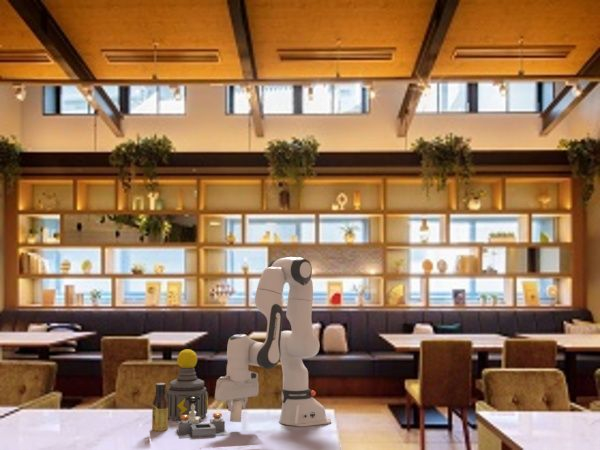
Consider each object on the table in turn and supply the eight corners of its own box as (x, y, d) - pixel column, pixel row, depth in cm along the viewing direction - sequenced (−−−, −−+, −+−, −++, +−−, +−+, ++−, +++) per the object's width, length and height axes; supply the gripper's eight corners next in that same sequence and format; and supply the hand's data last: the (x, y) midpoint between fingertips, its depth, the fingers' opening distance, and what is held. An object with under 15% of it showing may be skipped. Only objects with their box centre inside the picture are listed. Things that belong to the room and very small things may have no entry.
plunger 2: (221, 426, 269) (221, 412, 269) (222, 428, 266) (222, 414, 266) (212, 427, 268) (212, 413, 269) (213, 429, 265) (213, 415, 265)
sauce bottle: (153, 431, 269) (154, 382, 270) (168, 431, 269) (169, 381, 271) (150, 435, 262) (151, 384, 264) (166, 435, 263) (167, 384, 264)
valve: (197, 428, 275) (197, 398, 276) (182, 427, 277) (182, 398, 277) (202, 424, 282) (202, 395, 283) (187, 423, 283) (188, 395, 284)
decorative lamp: (204, 421, 287) (204, 351, 289) (160, 421, 287) (162, 351, 290) (210, 412, 306) (211, 347, 308) (170, 412, 306) (171, 346, 308)
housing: (223, 430, 271) (223, 418, 271) (228, 439, 256) (228, 426, 257) (176, 433, 266) (176, 420, 266) (179, 442, 252) (179, 429, 252)
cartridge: (235, 420, 267) (237, 395, 269) (243, 421, 265) (245, 396, 267) (227, 420, 264) (229, 395, 266) (235, 422, 261) (237, 396, 263)
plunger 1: (188, 428, 266) (189, 414, 266) (189, 430, 262) (189, 416, 263) (179, 428, 265) (180, 415, 265) (180, 431, 261) (180, 416, 262)
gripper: (221, 378, 257) (221, 414, 256) (261, 373, 271) (260, 407, 270) (212, 376, 261) (211, 412, 260) (251, 371, 276) (250, 405, 275)
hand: (236, 409), depth 265 cm, fingers closed on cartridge, 5 cm apart
